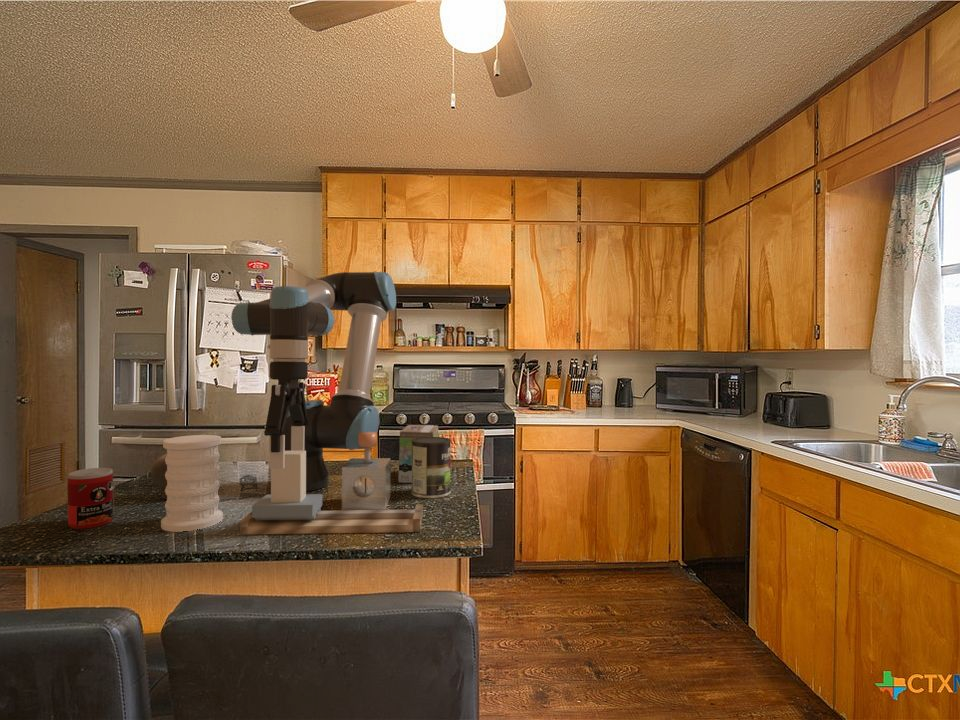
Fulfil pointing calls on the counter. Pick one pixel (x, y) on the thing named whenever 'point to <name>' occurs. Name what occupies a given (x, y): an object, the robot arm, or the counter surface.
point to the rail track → (340, 522)
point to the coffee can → (431, 467)
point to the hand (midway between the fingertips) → (287, 461)
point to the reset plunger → (367, 443)
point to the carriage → (288, 493)
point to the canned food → (90, 498)
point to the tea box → (406, 447)
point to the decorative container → (192, 483)
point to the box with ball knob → (366, 484)
